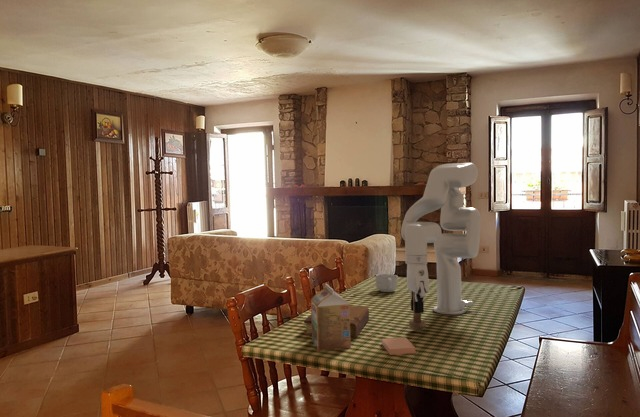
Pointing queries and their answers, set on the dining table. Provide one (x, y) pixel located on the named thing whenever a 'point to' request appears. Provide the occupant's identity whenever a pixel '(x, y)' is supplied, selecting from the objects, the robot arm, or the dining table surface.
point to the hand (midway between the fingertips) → (417, 311)
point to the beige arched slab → (357, 320)
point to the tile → (398, 346)
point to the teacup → (386, 282)
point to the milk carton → (330, 320)
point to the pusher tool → (416, 319)
